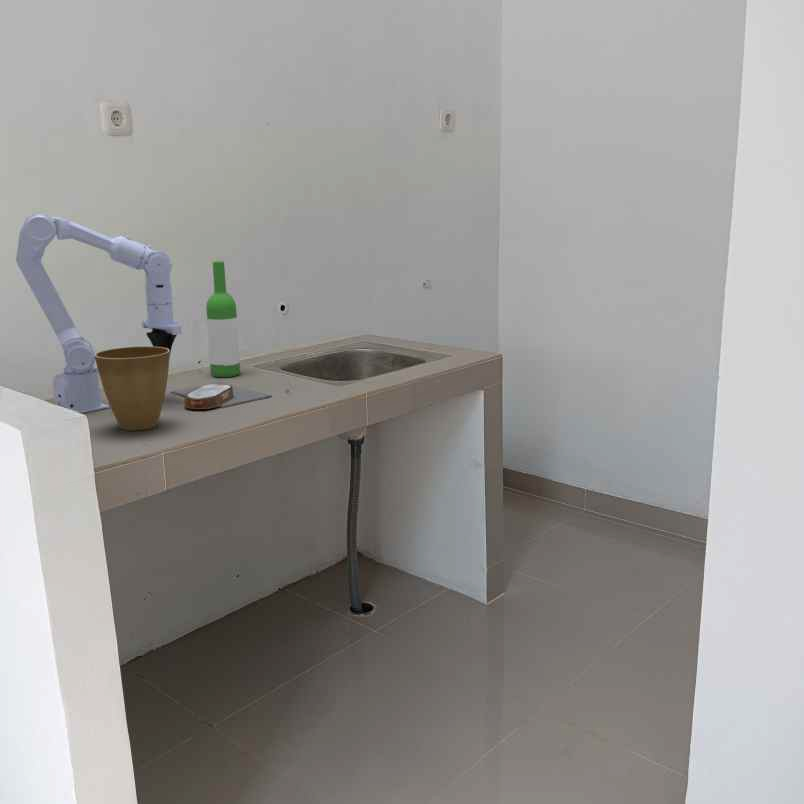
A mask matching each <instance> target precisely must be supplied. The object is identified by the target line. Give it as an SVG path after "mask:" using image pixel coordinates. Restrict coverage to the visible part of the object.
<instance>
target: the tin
mask: <svg viewBox="0 0 804 804" xmlns="http://www.w3.org/2000/svg"><path fill="white" fill-rule="evenodd" d="M207 384H208V385H205V384H202V385H203V386H200V385H199V386H200V387H198V388H196V389H194V390H192V391H190V392H188V393H187V394H185V396H183V397H184V407H185V408H187V409H191V410H209V409H213V408H219V407H218V406H220V405H222V404H223V403H225V402H227V401H228V400H230V399H232V398H233V397H234V396H233V388H232V386H231V385H232V384H231V385H220V384H210V383H207Z"/></svg>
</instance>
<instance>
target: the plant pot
mask: <svg viewBox="0 0 804 804" xmlns="http://www.w3.org/2000/svg"><path fill="white" fill-rule="evenodd" d="M94 356H95V364H96V366H97V368H98V376H99V378H100V379H99V380H100V382H101V385H102V388H103V391H104V394H105V397H106V399H107V402H108V406H109V408H110V409H111V412H112V413H113V416H114V418H115V420H116V422H117V424H118V426H119V428H120V429H121V430H123V431H129V432H130V431H131V432H133V431H134V432H135V431H136V432H137V431H144V430H145V431H146V430H150V429H153V428H156V427H157V426H158V424H159V423H158V422H159V419H160V416H161V412H162V409H163V404H164V400H165V397H166V396H165V395H166V390H167V385H168V377H169V366H170V358H169V357H170V356H171V353H170V350H169V349H167V348H163V347H153V346H150V345H149V346H147V345H145V346H143V345H142V346H128V347H127V346H125V347H117V348H109V349H105V350H101V351H98V352H95V355H94Z"/></svg>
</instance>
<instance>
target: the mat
mask: <svg viewBox="0 0 804 804" xmlns="http://www.w3.org/2000/svg"><path fill="white" fill-rule="evenodd" d="M208 384H220V385H231V386H232V388H233V396H234V397H233V398H232V399H230V400H228V401H227V402H225V403H223V404H222V405H220V406H218V407H217V408H221V409H223V408H229V407H232V406H238V405H241V403H242V404H246V402H247V403H251V402H255V401H254V400H256V401H259V399H260V400H264V399H263V398H265V399H268V398H267V397H269V398H272V397H273V395H272V394H269V393H264V392H261V391H257V390H254V389H249V388H245V387H242V386H237V385H234V384H230V383H226V382H222V381H216V382H211V383H207V384H206V383H205V384H202V385H201V384H200V385H196V386H192V387H187V388H181V389H176V390H171V391H170V393H171V394H173V393H174V395H178V396H181V397H184V396H185V394H187V393H188V392H190V391H192V390H194V389H196V388H198V387H200V386H203V385H208ZM250 401H251V402H250ZM237 404H238V405H237ZM228 406H229V407H228Z"/></svg>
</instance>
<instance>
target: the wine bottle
mask: <svg viewBox="0 0 804 804" xmlns="http://www.w3.org/2000/svg"><path fill="white" fill-rule="evenodd" d="M225 268H226V267H225V262H224V261H223V260H216V261H212V274H213V294H211V295H210V297H209V298H208V299H207V301H206V321H207V322H206V325H207V337H208V351H209V352H208V353H209V366H210V375H211V376H213V377H215V378H220V377H226V378H233V377H236V376H239V374H240V372H241V366H240V364H241V363H240V362H241V361H240V348H239V347H240V346H239V332H238V331H239V329H238V313H237V304H236V301H235V300H234V298H233V297H232V296H233V295H231V294H229V293H228V292H227V286H226V283H227V281H226V272H225V271H226V269H225ZM232 376H233V377H232Z"/></svg>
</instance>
